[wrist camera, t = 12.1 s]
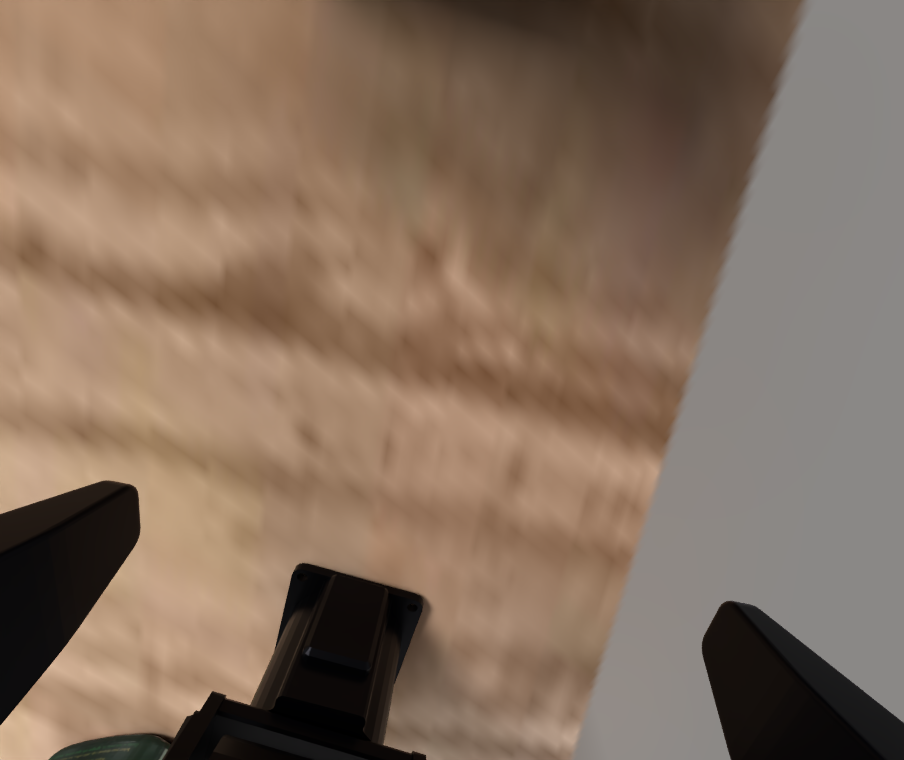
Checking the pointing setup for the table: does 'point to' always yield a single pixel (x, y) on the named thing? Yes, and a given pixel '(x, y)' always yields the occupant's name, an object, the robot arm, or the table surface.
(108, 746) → the coffee jar
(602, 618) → the table surface
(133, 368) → the table surface
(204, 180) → the table surface
